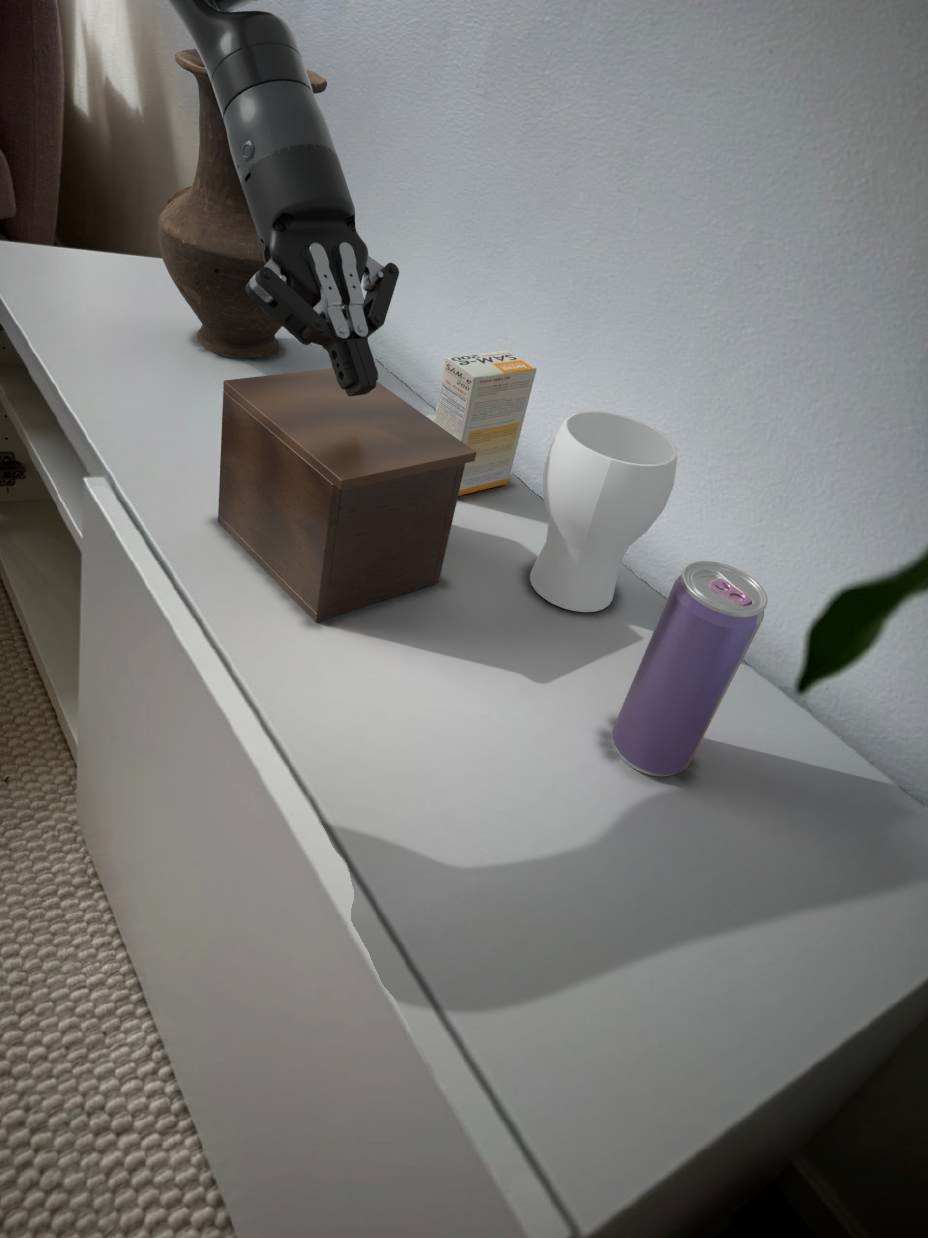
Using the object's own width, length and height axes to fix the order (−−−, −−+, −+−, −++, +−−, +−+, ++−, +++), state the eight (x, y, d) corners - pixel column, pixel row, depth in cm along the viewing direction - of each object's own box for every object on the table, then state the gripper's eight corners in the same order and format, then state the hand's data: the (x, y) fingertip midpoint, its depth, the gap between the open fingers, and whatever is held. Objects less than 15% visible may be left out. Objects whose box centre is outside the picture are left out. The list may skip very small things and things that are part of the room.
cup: (645, 589, 82) (702, 444, 74) (598, 639, 75) (656, 484, 66) (547, 541, 86) (590, 397, 77) (492, 584, 78) (534, 429, 69)
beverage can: (653, 793, 61) (735, 624, 53) (592, 738, 65) (660, 570, 56) (704, 762, 65) (789, 599, 56) (644, 712, 68) (716, 550, 59)
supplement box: (480, 464, 96) (507, 348, 88) (508, 485, 93) (539, 367, 86) (420, 476, 91) (443, 354, 83) (449, 499, 89) (476, 375, 81)
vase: (128, 321, 108) (122, 32, 90) (266, 310, 120) (283, 53, 102) (209, 387, 98) (219, 76, 80) (350, 368, 110) (385, 95, 92)
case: (438, 583, 76) (467, 456, 69) (315, 622, 69) (333, 484, 62) (337, 495, 85) (353, 374, 78) (217, 522, 77) (222, 390, 70)
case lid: (474, 461, 69) (477, 452, 68) (340, 490, 61) (342, 480, 61) (353, 373, 78) (354, 364, 77) (222, 389, 70) (223, 380, 69)
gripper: (338, 197, 73) (404, 399, 74) (189, 194, 65) (264, 420, 66) (386, 144, 67) (457, 364, 68) (228, 133, 59) (310, 383, 60)
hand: (362, 391), depth 67 cm, fingers closed
